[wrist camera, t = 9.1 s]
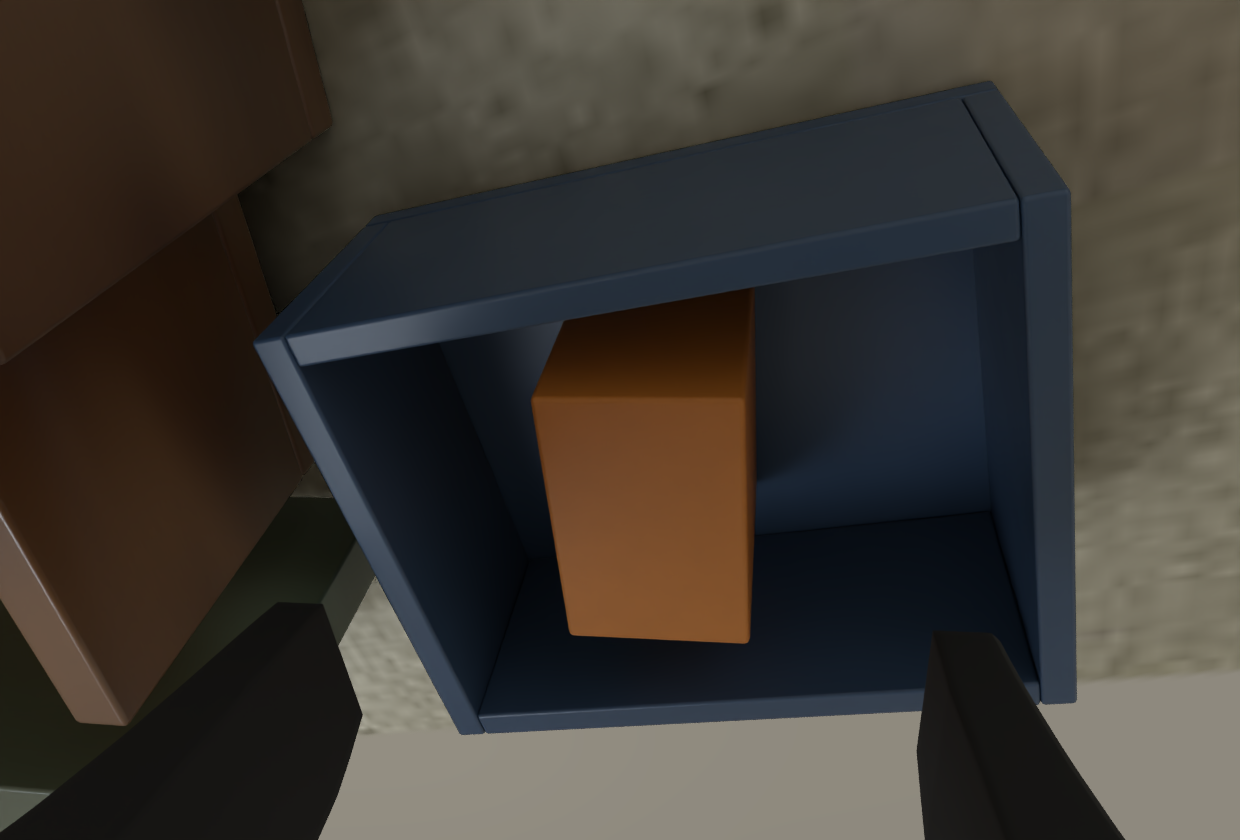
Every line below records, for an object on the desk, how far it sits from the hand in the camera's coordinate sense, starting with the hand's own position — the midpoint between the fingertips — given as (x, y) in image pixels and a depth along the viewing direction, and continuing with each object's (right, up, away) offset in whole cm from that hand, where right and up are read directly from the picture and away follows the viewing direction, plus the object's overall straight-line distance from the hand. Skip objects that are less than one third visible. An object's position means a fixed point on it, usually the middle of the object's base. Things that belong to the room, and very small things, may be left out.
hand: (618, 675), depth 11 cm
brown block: (+1, +4, +5) cm, 7 cm away
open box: (+2, +4, +6) cm, 7 cm away
